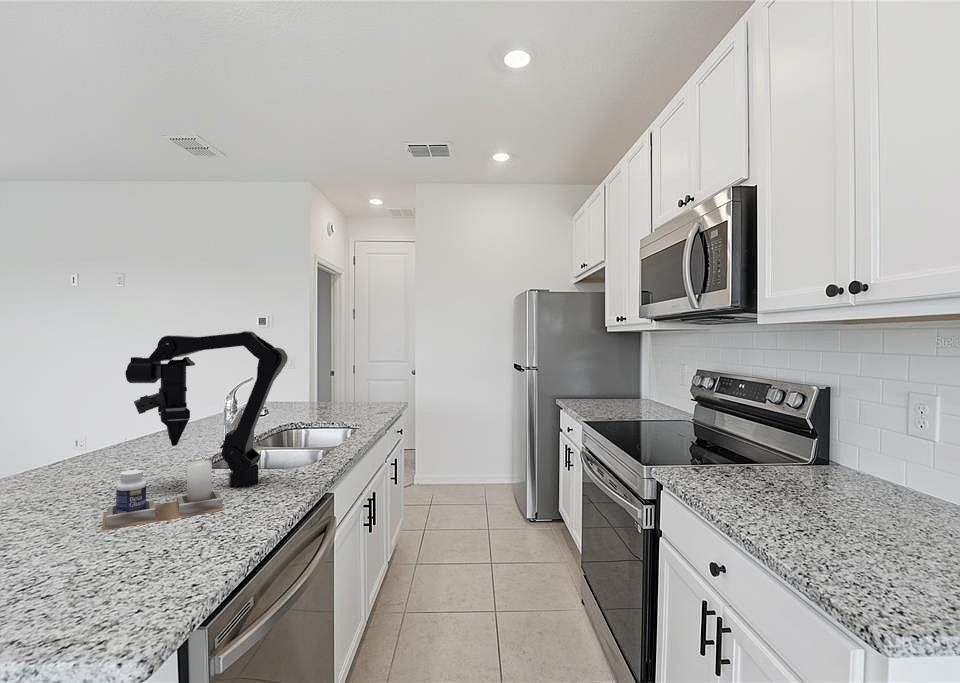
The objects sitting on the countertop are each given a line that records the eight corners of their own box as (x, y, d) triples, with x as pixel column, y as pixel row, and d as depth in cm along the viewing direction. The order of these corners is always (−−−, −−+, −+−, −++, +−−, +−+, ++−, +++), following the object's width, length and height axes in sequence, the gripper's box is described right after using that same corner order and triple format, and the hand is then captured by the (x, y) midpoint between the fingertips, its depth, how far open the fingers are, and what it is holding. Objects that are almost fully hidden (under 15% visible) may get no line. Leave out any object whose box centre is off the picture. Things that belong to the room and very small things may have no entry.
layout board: (215, 501, 124) (215, 487, 124) (223, 516, 114) (223, 501, 114) (103, 518, 112) (103, 503, 112) (100, 538, 101) (101, 521, 101)
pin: (209, 500, 120) (210, 459, 120) (212, 506, 116) (213, 463, 116) (185, 504, 117) (186, 462, 117) (187, 510, 113) (188, 466, 113)
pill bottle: (130, 521, 106) (131, 476, 106) (109, 519, 107) (109, 474, 107) (152, 513, 111) (152, 469, 111) (131, 511, 112) (132, 468, 112)
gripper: (136, 381, 134) (135, 439, 134) (136, 387, 119) (136, 453, 119) (184, 380, 141) (183, 435, 141) (190, 385, 125) (189, 447, 126)
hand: (173, 442), depth 131 cm, fingers open, 9 cm apart
